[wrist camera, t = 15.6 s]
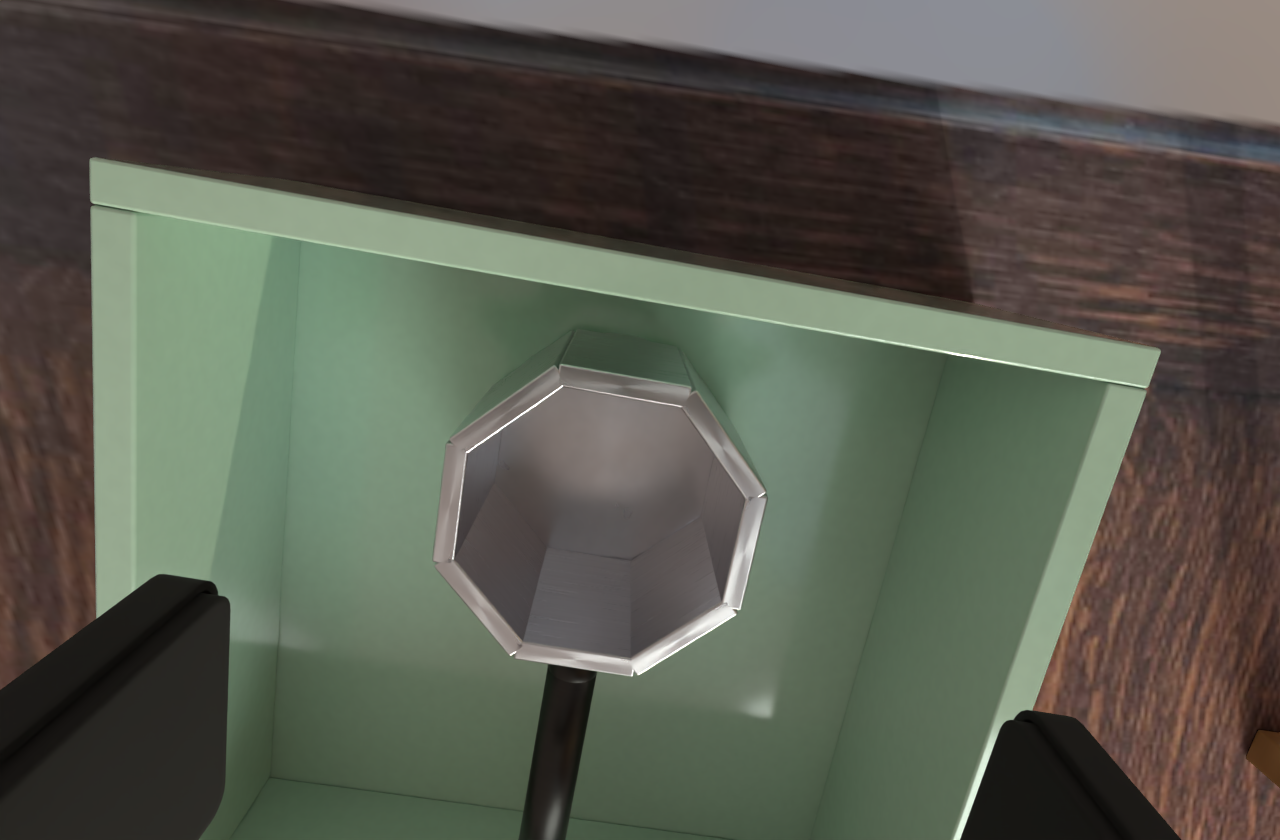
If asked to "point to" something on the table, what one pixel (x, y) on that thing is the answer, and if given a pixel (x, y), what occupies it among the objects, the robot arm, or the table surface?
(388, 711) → the basin
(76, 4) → the table surface
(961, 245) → the table surface
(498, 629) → the saucepan
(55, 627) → the table surface
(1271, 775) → the stand
